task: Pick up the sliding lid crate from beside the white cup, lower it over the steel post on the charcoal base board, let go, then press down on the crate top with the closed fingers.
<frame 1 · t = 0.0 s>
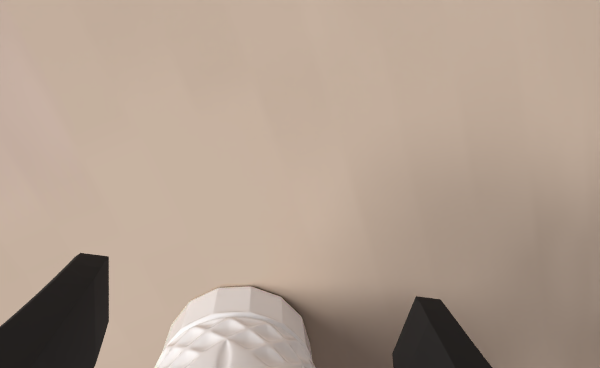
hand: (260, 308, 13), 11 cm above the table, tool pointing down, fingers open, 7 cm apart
white cup: (239, 339, 26), on the table
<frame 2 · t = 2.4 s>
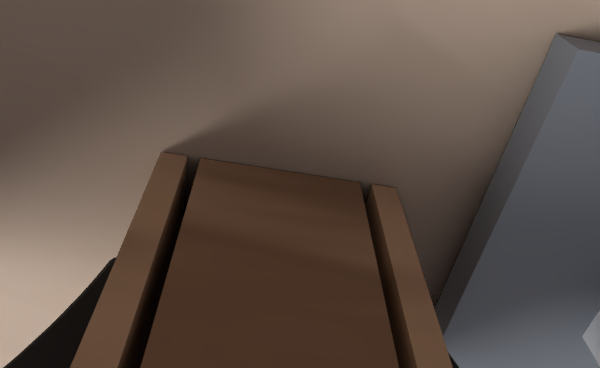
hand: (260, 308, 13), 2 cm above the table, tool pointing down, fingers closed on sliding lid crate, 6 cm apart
sliding lid crate: (263, 260, 14), on the table, touching gripper
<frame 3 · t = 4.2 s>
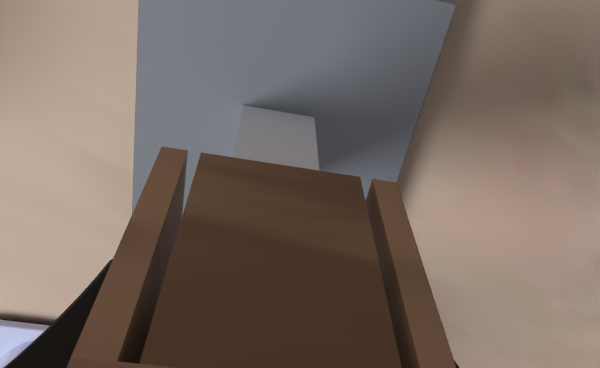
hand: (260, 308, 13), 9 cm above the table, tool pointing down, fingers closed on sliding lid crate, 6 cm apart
sliding lid crate: (264, 255, 14), point 8 cm above the table, touching gripper
post base: (273, 131, 21), on the table
when the fingers open (4 cm above the table, at t = 6.1 s): sliding lid crate drops 1 cm, resting on post base.
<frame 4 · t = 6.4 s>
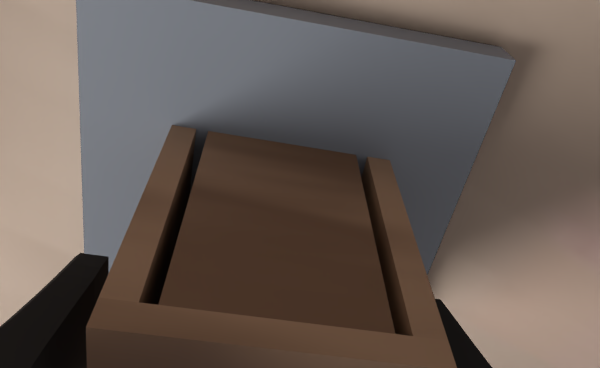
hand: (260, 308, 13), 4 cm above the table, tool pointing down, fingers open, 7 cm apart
sliding lid crate: (266, 230, 15), point 1 cm above the table, touching post base
post base: (266, 212, 16), on the table
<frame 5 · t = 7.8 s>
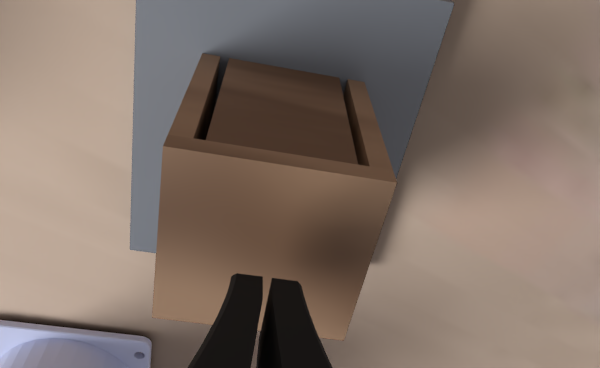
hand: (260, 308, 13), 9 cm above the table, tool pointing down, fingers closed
sliding lid crate: (271, 139, 20), point 1 cm above the table, touching post base
post base: (271, 130, 21), on the table
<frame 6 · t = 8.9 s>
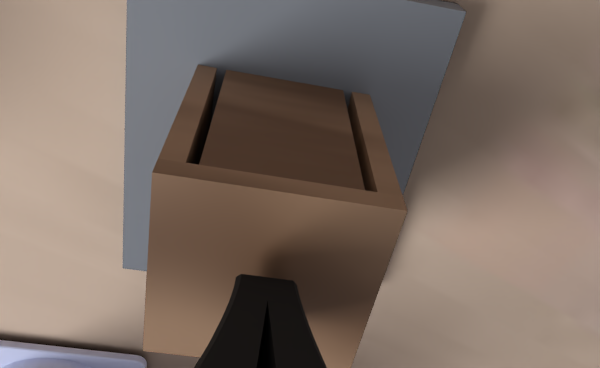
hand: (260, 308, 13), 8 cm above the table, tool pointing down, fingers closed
sliding lid crate: (271, 155, 19), point 1 cm above the table, touching post base
post base: (271, 144, 19), on the table
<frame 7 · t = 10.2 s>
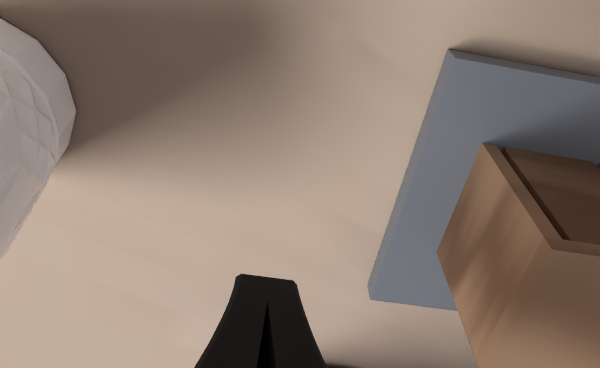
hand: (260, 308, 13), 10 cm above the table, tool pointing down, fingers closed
sliding lid crate: (519, 210, 23), point 1 cm above the table, touching post base
post base: (510, 199, 24), on the table
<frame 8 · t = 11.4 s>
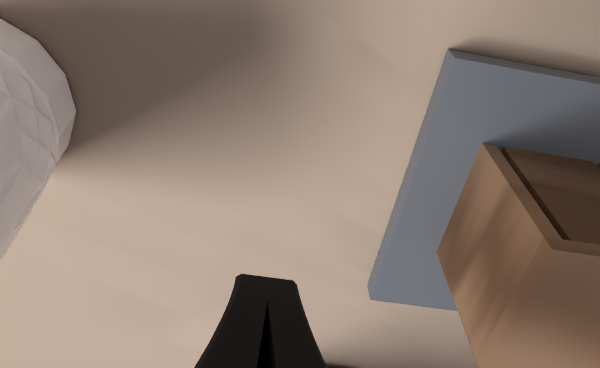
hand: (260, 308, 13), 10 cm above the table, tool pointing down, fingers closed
sliding lid crate: (519, 210, 23), point 1 cm above the table, touching post base
post base: (510, 199, 24), on the table
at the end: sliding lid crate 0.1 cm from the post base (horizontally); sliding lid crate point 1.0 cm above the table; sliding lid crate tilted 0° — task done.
